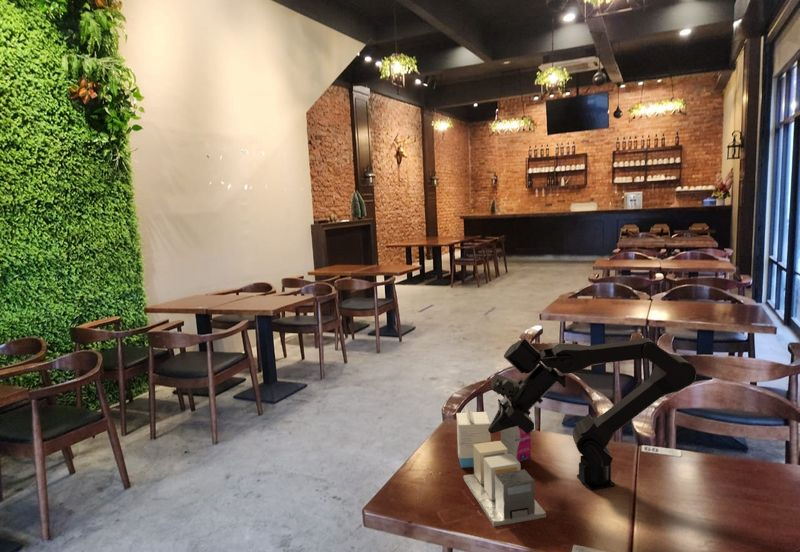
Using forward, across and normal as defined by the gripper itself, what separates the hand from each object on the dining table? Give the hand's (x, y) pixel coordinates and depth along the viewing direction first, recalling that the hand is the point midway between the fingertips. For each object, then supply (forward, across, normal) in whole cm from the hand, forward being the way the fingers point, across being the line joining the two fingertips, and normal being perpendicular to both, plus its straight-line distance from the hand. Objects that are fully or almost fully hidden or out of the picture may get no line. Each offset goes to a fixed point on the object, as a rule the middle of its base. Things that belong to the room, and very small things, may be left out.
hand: (489, 431), depth 126 cm
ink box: (+11, -12, +8) cm, 18 cm away
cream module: (+7, +7, +9) cm, 14 cm away
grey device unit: (+8, +7, +10) cm, 15 cm away
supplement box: (+3, -12, +16) cm, 20 cm away
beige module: (+8, 0, +8) cm, 12 cm away
